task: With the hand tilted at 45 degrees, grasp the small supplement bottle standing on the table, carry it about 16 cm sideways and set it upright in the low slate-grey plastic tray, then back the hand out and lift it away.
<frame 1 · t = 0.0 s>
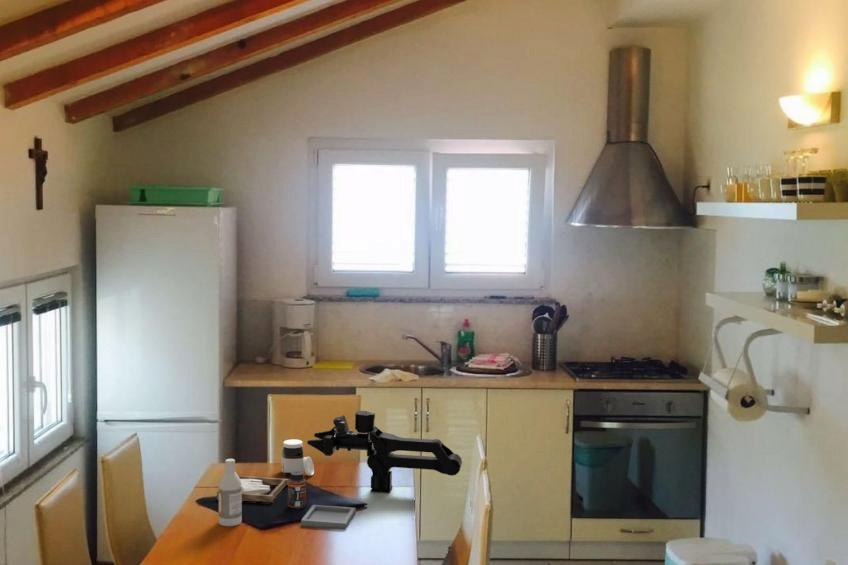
hand: (310, 438, 321), 17 cm above the table, tool horizontal, fingers open, 9 cm apart
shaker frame: (253, 492, 313), on the table
spread jar: (298, 474, 335), on the table
tray: (328, 519, 290), on the table
supplement bottle: (296, 507, 301), on the table
bath foam: (230, 523, 285), on the table
salt and pepper shakers: (252, 494, 313), on the table
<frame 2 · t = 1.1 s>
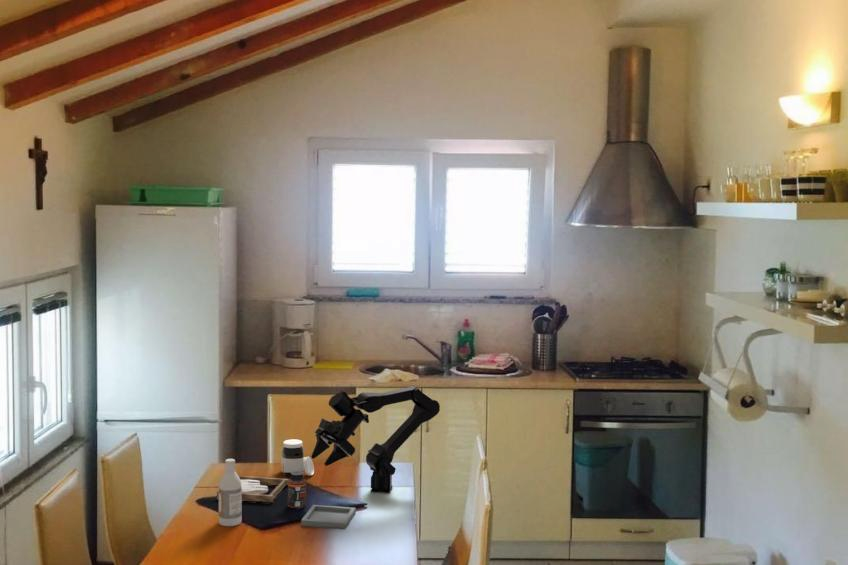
hand: (318, 461, 304), 14 cm above the table, tool tilted 45°, fingers open, 9 cm apart
nothing on the table moved.
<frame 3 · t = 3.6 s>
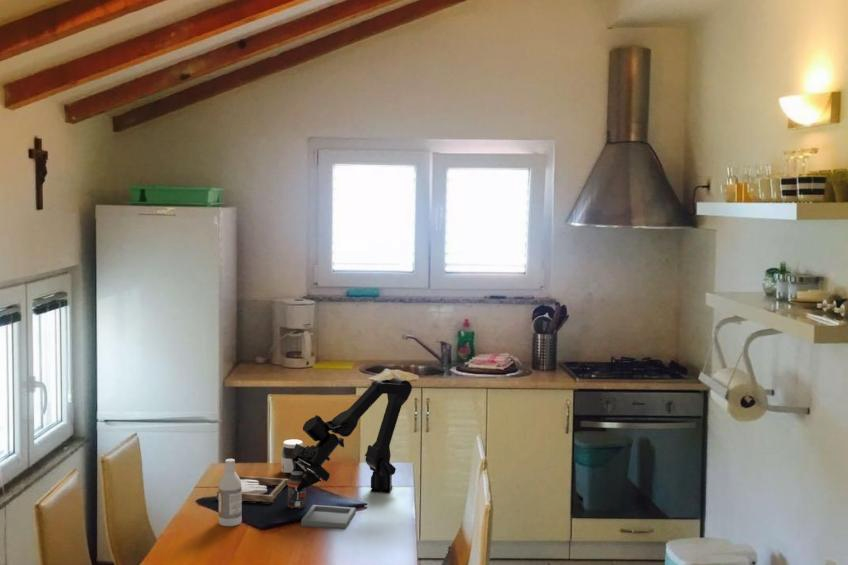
hand: (292, 487, 299), 7 cm above the table, tool tilted 45°, fingers closed on supplement bottle, 6 cm apart
supplement bottle: (296, 507, 301), on the table, touching gripper
when the fingers open (8 cm above the table, at t = 7.8 s): supplement bottle stays where it is, resting on tray.
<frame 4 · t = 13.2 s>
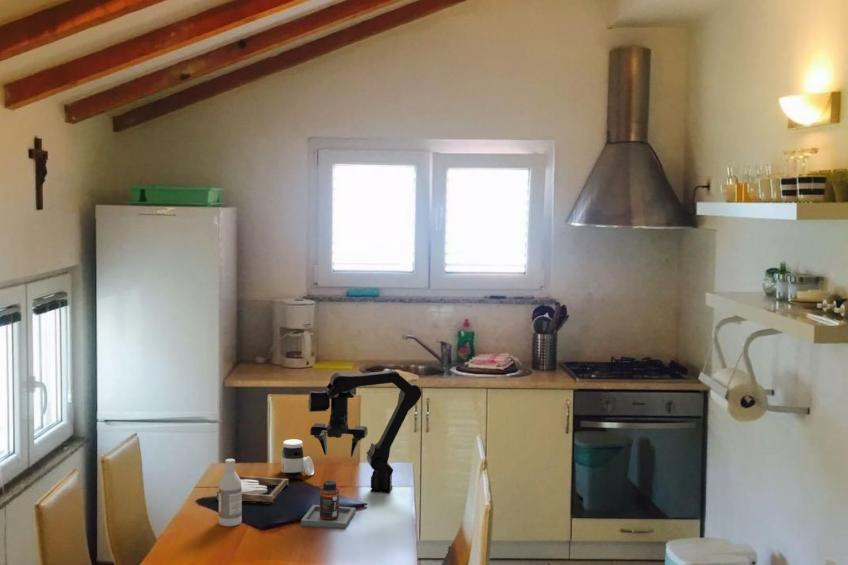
hand: (338, 455, 314), 13 cm above the table, tool pointing down, fingers open, 9 cm apart
supplement bottle: (329, 517, 290), resting on tray
at the end: supplement bottle inside the target area on the tray (0.2 cm from its centre), point 0.4 cm above the tray's base; supplement bottle tilted 0°; the gripper is holding nothing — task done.
